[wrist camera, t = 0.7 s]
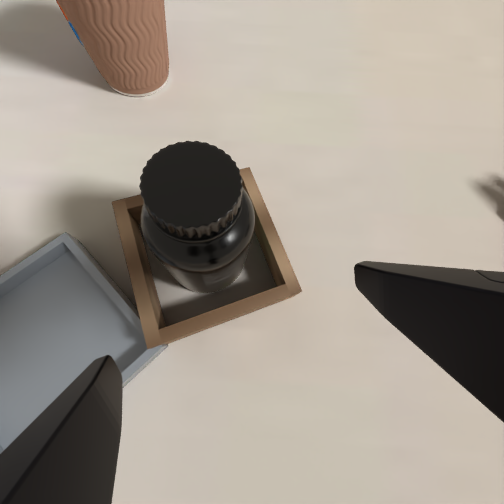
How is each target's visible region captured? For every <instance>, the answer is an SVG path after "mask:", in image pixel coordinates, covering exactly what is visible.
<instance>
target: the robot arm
mask: <svg viewBox="0 0 504 504" xmlns="http://www.w3.org/2000/svg"><path fill="white" fill-rule="evenodd" d="M354 273H355V284H356V287H357V288H358V290H359V291H360V292H361V293H362V294H363V295H364V296H365V297H366V298H367V299H368V301H369V302H370V303H371V304H372V305H373V306H374V307H375V308H376V309H377V310H378V311H379V312H380V313H381V314H382V315H383V316H384V317H385V318H386V319H387V320H388V321H389V322H390V323H391V324H392V325H394V326H395V327H396V328H397V329H398V330H399V331H400V332H401V333H403V334H404V335H405V336H406V337H407V338H408V339H409V340H411V341H412V342H413V343H414V344H415V345H416V346H417V347H419V348H420V349H421V350H422V351H423V352H424V353H425V354H426V355H428V356H429V357H430V358H431V359H432V360H433V361H434V362H436V363H437V364H438V365H439V366H440V367H441V368H442V369H444V370H445V371H446V372H447V373H448V374H449V375H450V376H451V377H453V378H454V379H455V380H456V381H457V382H458V383H459V384H461V385H462V386H463V387H464V388H465V389H466V390H467V391H468V392H470V393H471V394H472V395H473V396H474V397H475V398H476V399H478V400H479V401H480V402H481V403H482V404H483V405H484V406H486V407H487V408H488V409H489V410H490V411H491V412H492V413H493V414H495V415H496V416H497V417H498V418H499V419H500V420H501V421H503V422H504V272H496V271H483V270H475V271H474V270H470V269H458V268H445V267H433V266H421V265H408V264H396V263H384V262H371V261H363V262H360V263H358V264H356V265H355V267H354ZM122 388H123V379H122V375H121V372H120V370H119V369H118V367H117V365H116V363H115V361H114V360H113V358H112V357H111V356H110V355H105V356H103V357H100V358H97V359H95V360H94V361H93V362H92V363H91V364H90V365H89V366H88V367H87V368H86V369H85V370H84V371H83V372H82V373H81V374H80V375H79V376H78V377H77V378H76V379H75V380H74V381H73V382H72V383H71V384H70V385H69V386H68V387H67V388H66V389H65V390H64V391H63V392H62V393H61V394H60V395H59V396H58V397H57V398H56V399H55V400H54V401H53V402H52V403H51V404H50V405H49V406H48V407H47V408H46V409H45V410H44V411H43V412H42V413H41V414H40V415H39V416H38V417H37V418H36V419H35V420H34V421H33V422H32V423H31V424H30V425H29V426H28V427H27V428H26V429H25V430H24V431H23V432H22V433H21V434H20V435H19V436H18V437H17V438H16V439H15V440H14V441H13V442H12V443H11V444H10V445H9V446H8V447H7V448H6V449H5V450H4V451H3V452H2V453H1V454H0V504H111V503H112V496H113V488H114V481H115V474H116V466H117V459H118V452H119V444H120V437H121V426H122Z"/></svg>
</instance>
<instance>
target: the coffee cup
mask: <svg viewBox="0 0 504 504" xmlns="http://www.w3.org/2000/svg"><path fill="white" fill-rule="evenodd" d="M56 1H57V3H58V5H59V7H60V9H61V10H62V12H63V14H64V16H65V17H66V19H67V21H68V22H69V24H70V26H71V28H72V30H73V31H74V33H75V35H76V36H77V38H78V40H79V41H80V43H81V44H82V45H83V46H84V47H85V49H86V50H87V52H88V54H89V55H90V57H91V58H92V60H93V62H94V63H95V65H96V67H97V68H98V70H99V72H100V73H101V75H102V76H103V77H104V78H105V80H106V81H107V83H108V84H109V85H110V86H111V87H112V88H113V89H114V90H115V91H117V92H119V93H121V94H124V95H128V96H134V97H141V96H147V95H151V94H153V93H156V92H157V91H159V90H160V89H161V88H162V87H164V85H165V84H166V82H167V80H168V75H169V70H168V69H169V57H168V45H167V33H166V21H165V9H164V0H56Z"/></svg>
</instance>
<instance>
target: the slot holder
mask: <svg viewBox="0 0 504 504" xmlns="http://www.w3.org/2000/svg"><path fill="white" fill-rule="evenodd" d="M240 175H241V177H242V186H243V188H244V190H245V191H246V192H247V194H248V196H249V197H250V200H251V202H252V205H253V208H254V214H255V225H254V231H255V233H256V236H257V238H258V241H259V243H260V246H261V248H262V251H263V253H264V256H265V258H266V261H267V263H268V266H269V268H270V271H271V273H272V276H273V278H274V281H275V283H276V286H277V287H275V288H272V289H269V290H267V291H264V292H261V293H258V294H256V295H253V296H250V297H247V298H245V299H242V300H239V301H236V302H234V303H231V304H228V305H225V306H222V307H220V308H217V309H214V310H211V311H209V312H206V313H203V314H200V315H198V316H195V317H192V318H189V319H187V320H184V321H181V322H178V323H176V324H173V325H170V326H167V327H166V324H165V321H164V317H163V313H162V310H161V306H160V302H159V298H158V295H157V291H156V287H155V283H154V280H153V276H152V272H151V268H150V265H149V261H148V257H147V253H146V250H145V246H144V242H143V239H142V235H141V231H140V227H139V224H141V211H142V207H143V204H144V201H143V199H142V198H141V195H137V196H133V197H129V198H125V199H121V200H117V201H113V202H112V205H113V209H114V213H115V217H116V222H117V226H118V230H119V234H120V238H121V242H122V246H123V250H124V255H125V259H126V263H127V267H128V271H129V275H130V279H131V283H132V288H133V292H134V296H135V300H136V304H137V308H138V312H139V316H140V321H141V325H142V329H143V333H144V337H145V341H146V345H147V349H151V348H154V347H157V346H159V345H163V344H169V343H171V342H174V341H177V340H179V339H182V338H185V337H187V336H190V335H192V334H195V333H198V332H200V331H203V330H206V329H208V328H211V327H214V326H216V325H219V324H222V323H224V322H227V321H230V320H232V319H235V318H238V317H240V316H243V315H246V314H248V313H251V312H254V311H256V310H259V309H262V308H264V307H267V306H270V305H272V304H275V303H278V302H280V301H283V300H286V299H288V298H291V297H293V296H295V295H297V294H298V293H300V292H302V290H301V287H300V285H299V283H298V280H297V278H296V276H295V273H294V271H293V268H292V266H291V264H290V261H289V259H288V257H287V254H286V252H285V250H284V247H283V245H282V243H281V240H280V238H279V236H278V233H277V231H276V229H275V226H274V224H273V222H272V219H271V217H270V214H269V212H268V210H267V207H266V205H265V203H264V200H263V198H262V196H261V193H260V191H259V189H258V186H257V184H256V182H255V179H254V177H253V175H252V172H251V170H250V168H249V167H248V168H244V169H240Z"/></svg>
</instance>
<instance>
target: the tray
mask: <svg viewBox="0 0 504 504" xmlns="http://www.w3.org/2000/svg"><path fill="white" fill-rule="evenodd" d="M167 346H168V344H163V345H159V346H157V347H154V348H151V349H147V345H146V341H145V337H144V333H143V329H142V325H141V321H140V316H139V312H138V309H137V308H136V307H135V306H134V305H133V304H132V302H131V301H130V300H129V299H128V298H127V297H126V295H125V294H124V293H123V292H122V291H121V290H120V288H119V287H118V286H117V285H116V284H115V282H114V281H113V280H112V279H111V278H110V277H109V275H108V274H107V273H106V272H105V271H104V270H103V268H102V267H101V266H100V265H99V264H98V263H97V261H96V260H95V259H94V258H93V257H92V256H91V254H90V253H89V252H88V251H87V250H86V249H85V247H84V246H83V245H82V244H81V243H80V242H79V241H78V240H77V239H75V238H74V237H72V236H71V235H69V234H68V233H66V232H65V233H63V234H62V235H60V236H59V237H57V238H56V239H54V240H53V241H51V242H50V243H48V244H47V245H45V246H44V247H42V248H41V249H39V250H38V251H36V252H35V253H33V254H32V255H31V256H29V257H28V258H26V259H25V260H23V261H22V262H20V263H19V264H17V265H16V266H14V267H13V268H11V269H10V270H8V271H7V272H5V273H4V274H2V275H1V276H0V454H1V453H2V452H3V451H4V450H5V449H6V448H7V447H8V446H9V445H10V444H11V443H12V442H13V441H14V440H15V439H16V438H17V437H18V436H19V435H20V434H21V433H22V432H23V431H24V430H25V429H26V428H27V427H28V426H29V425H30V424H31V423H32V422H33V421H34V420H35V419H36V418H37V417H38V416H39V415H40V414H41V413H42V412H43V411H44V410H45V409H46V408H47V407H48V406H49V405H50V404H51V403H52V402H53V401H54V400H55V399H56V398H57V397H58V396H59V395H60V394H61V393H62V392H63V391H64V390H65V389H66V388H67V387H68V386H69V385H70V384H71V383H72V382H73V381H74V380H75V379H76V378H77V377H78V376H79V375H80V374H81V373H82V372H83V371H84V370H85V369H86V368H87V367H88V366H89V365H90V364H91V363H92V362H93V361H94V360H95V359H97V358H100V357H103V356H105V355H110V356H111V357H112V358H113V360H114V361H115V363H116V365H117V367H118V369H119V370H120V372H121V375H122V379H123V387H124V386H125V385H127V384H128V383H129V382H130V381H131V380H132V379H133V378H134V377H135V376H136V375H137V374H138V373H139V372H141V371H142V370H143V369H144V368H145V367H146V366H147V365H148V364H149V363H150V362H151V361H152V360H153V359H154V358H156V357H157V356H158V355H159V354H160V353H161V352H162V351H163V350H164V349H165V348H166V347H167Z"/></svg>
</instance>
